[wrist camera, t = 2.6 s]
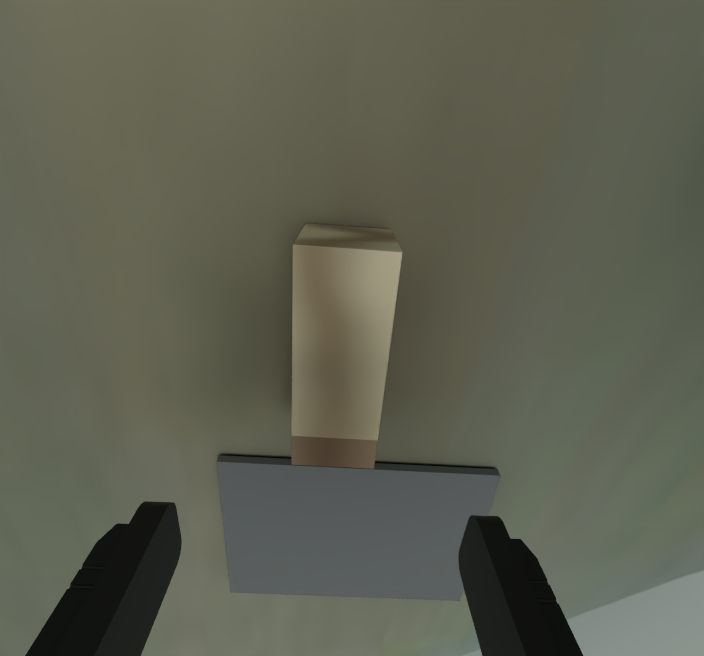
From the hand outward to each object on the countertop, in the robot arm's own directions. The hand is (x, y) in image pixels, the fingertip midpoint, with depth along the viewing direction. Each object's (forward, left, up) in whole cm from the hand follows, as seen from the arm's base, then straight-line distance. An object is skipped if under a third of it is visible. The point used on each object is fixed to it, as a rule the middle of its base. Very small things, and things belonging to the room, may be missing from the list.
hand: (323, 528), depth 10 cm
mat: (-2, +18, -13) cm, 23 cm away
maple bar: (0, 0, -13) cm, 13 cm away
